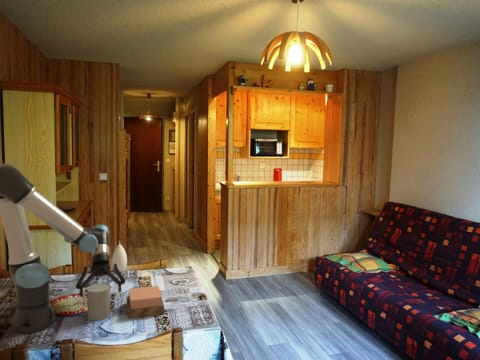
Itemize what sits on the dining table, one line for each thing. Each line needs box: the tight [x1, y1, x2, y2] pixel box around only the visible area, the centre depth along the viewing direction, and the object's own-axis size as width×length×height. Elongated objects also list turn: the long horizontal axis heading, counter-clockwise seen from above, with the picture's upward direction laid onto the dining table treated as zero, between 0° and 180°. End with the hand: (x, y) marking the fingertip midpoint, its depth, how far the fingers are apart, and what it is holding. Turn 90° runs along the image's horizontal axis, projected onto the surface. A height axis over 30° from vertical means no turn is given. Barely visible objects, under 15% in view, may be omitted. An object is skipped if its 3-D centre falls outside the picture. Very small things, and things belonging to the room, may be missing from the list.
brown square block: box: [128, 285, 163, 310], centre depth 164 cm, size 13×13×4 cm
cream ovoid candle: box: [112, 240, 128, 273], centre depth 209 cm, size 8×8×18 cm
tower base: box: [125, 295, 165, 320], centre depth 165 cm, size 15×15×4 cm
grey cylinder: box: [86, 282, 112, 321], centre depth 157 cm, size 10×10×12 cm
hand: (101, 301), depth 157 cm, fingers open, 13 cm apart
